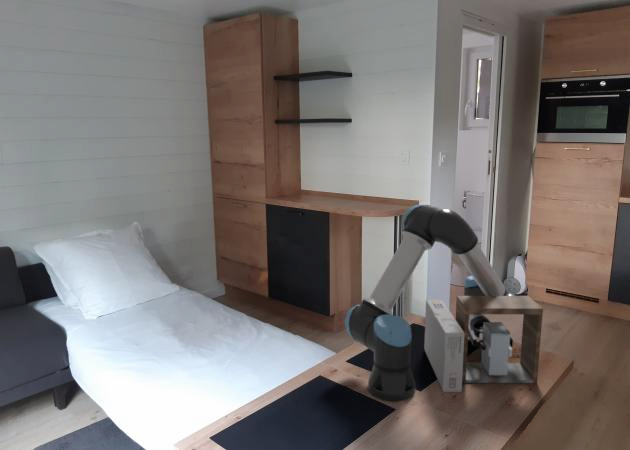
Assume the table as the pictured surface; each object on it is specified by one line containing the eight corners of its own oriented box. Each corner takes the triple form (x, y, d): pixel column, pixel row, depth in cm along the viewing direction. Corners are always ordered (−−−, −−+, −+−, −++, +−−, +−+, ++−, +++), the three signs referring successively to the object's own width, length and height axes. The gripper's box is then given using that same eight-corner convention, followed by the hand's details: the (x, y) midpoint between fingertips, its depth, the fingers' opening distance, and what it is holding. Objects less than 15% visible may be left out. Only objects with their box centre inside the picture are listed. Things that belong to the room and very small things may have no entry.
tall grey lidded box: (489, 374, 163) (491, 332, 160) (481, 362, 172) (483, 322, 169) (507, 375, 163) (510, 332, 160) (498, 362, 172) (501, 322, 169)
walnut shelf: (462, 382, 162) (465, 308, 157) (453, 365, 174) (456, 295, 169) (536, 383, 161) (542, 308, 156) (523, 365, 173) (528, 295, 168)
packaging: (462, 391, 157) (464, 333, 153) (442, 391, 157) (445, 333, 153) (440, 349, 187) (442, 299, 183) (424, 349, 187) (425, 299, 183)
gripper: (505, 334, 184) (529, 363, 161) (454, 334, 184) (470, 363, 162) (506, 315, 182) (530, 342, 159) (454, 315, 183) (471, 342, 160)
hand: (500, 352), depth 161 cm, fingers closed on tall grey lidded box, 6 cm apart
